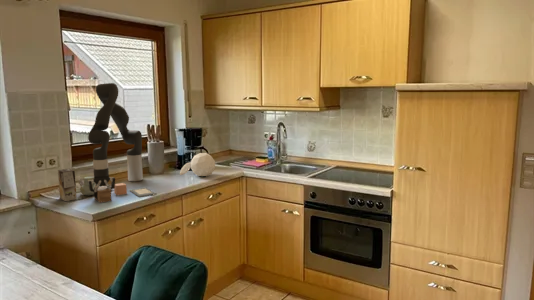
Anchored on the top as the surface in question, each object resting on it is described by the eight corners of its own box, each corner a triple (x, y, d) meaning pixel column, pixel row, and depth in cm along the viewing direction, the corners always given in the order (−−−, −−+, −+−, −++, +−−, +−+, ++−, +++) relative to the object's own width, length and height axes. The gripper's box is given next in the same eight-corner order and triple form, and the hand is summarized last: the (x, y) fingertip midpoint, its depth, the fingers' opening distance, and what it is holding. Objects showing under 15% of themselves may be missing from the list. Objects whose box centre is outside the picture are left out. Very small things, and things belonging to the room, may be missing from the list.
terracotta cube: (114, 193, 236) (113, 184, 235) (124, 191, 239) (123, 182, 238) (117, 195, 231) (116, 185, 230) (126, 193, 234) (126, 184, 234)
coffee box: (77, 199, 223) (75, 170, 220) (65, 201, 218) (62, 172, 216) (71, 196, 229) (69, 168, 227) (59, 198, 225) (57, 169, 222)
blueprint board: (129, 191, 240) (129, 189, 240) (146, 188, 246) (146, 187, 246) (138, 197, 227) (138, 195, 227) (156, 194, 232) (156, 193, 232)
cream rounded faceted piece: (211, 149, 273) (192, 145, 295) (187, 171, 264) (169, 165, 286) (224, 167, 281) (204, 161, 303) (201, 189, 272) (182, 182, 294)
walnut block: (94, 198, 223) (93, 188, 222) (105, 196, 227) (105, 186, 226) (100, 202, 215) (99, 191, 214) (111, 200, 219) (110, 190, 218)
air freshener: (101, 194, 232) (100, 177, 230) (86, 197, 226) (85, 180, 225) (93, 191, 240) (92, 174, 238) (79, 193, 234) (78, 177, 232)
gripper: (112, 164, 225) (114, 194, 228) (85, 167, 217) (87, 198, 220) (116, 167, 219) (118, 197, 222) (88, 170, 211) (90, 201, 214)
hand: (102, 197), depth 221 cm, fingers closed on walnut block, 6 cm apart
